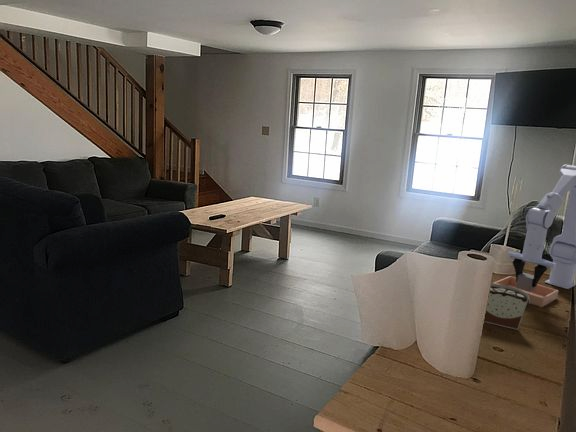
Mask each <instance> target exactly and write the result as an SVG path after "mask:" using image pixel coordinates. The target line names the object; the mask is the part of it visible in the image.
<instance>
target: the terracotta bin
mask: <svg viewBox="0 0 576 432" xmlns="http://www.w3.org/2000/svg"><path fill="white" fill-rule="evenodd" d="M492 284H499V285H505V286H510V287H513V288H516V284H517V282H516V276H511V275H509V276H507V277H504V278H502V279H499V280H496V281H494V282H492ZM517 289H519V288H517ZM519 290H522V289H519ZM522 291H524V292H525V293H527V294H528V295H529V298H530V304H529V303H528V302H527V304H529V305H533V306H535V307H539V308H543V307H545V306H547V305H549V304H551V303H552V302H554V301H555V300H557V299H558V296H559V289H555V288H552V287H548V286H545V285H542V284H538V283H537V286H536V287H535V290H533V291H531V292H529V291H525V290H522Z"/></svg>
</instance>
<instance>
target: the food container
mask: <svg viewBox="0 0 576 432" xmlns="http://www.w3.org/2000/svg"><path fill="white" fill-rule="evenodd" d="M490 284H491V287H490V292H489V298H488V303H487V308H486V314H485V320H484V322H483V323H488V324H492V325H497V326H500V327H504V328H509V329H513V330H517V331H518V330H519V328H520V325H521V324H522V323H521V321H522V319H523V317H524V313H525V311H526V307H527V305H528V304H529V305H531V304H530V298H529V295H528V294H527V293H525V292H524V291H522V290H519V289H517V288H513V287H510V286H505V285H499V284H493V283H490ZM527 302H528V303H527Z"/></svg>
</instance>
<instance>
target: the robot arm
mask: <svg viewBox="0 0 576 432" xmlns="http://www.w3.org/2000/svg"><path fill="white" fill-rule="evenodd" d="M568 192H570V195H569V200H568V204H567V209H566V214H565V219H564V223H563V227H562V232H561V234H559V235H556V236H554V237H553V239H552V243H551V244H550V247H549V252H548V253H549V255H550V257H551V259H552V261H550V260H547V259H544V258H542V257H543V253H544V248H545V244H546V240H547V239H546V238H547V233H548V229H549V228H550V227H551V226H552V224H553V222H554V219H555V217H556V212H557V211H558V210H559V209H560V208H561V206H562V205H563V203H564V202H563V201H564V200H563V198H564V197H565V195H567V194H568ZM525 223H526V225H525V229H526V235H525V240H524V244H523V248H522V249H523V250H522V253H521V252H519V253H518V252H514V251H508V252H507V256H506V258H507V259H513V261H512V265H513V268H514V271H515V278H516V282H517V279H518V275H519V274H521V273H524V267H525V265H526V263H527V264H532V265H535V266H534V273H533V275H534V279H533V283H532V287H536V286H537V284H538V283H539V281H540V279H541V278H542V276H543V275H544V274H545V272H546V271H548V269H549V270H550V273H549V277H548V279H547V280H545V281H544V283H546V284H548V285H553V286H555V287H559V288H562V289H567V290H569V289H571V288H573V287H575V286H576V285H575V282H574V281H575V277H576V165H571V164H569V163H566V164H563V165H562V166H561V167H560V169H559V172H558V181H557V183H556V184H555V186H554V188H553V190H552V191H551V192H547V193H546V194H545V195H543V197H542V198H541V199H540V201H539V203H537V205H536V206H535V207H531V208H530V209H529V210H528V211H527V213H526V215H525Z"/></svg>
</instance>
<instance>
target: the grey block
mask: <svg viewBox="0 0 576 432" xmlns="http://www.w3.org/2000/svg"><path fill="white" fill-rule="evenodd" d="M533 279H534V274H530V273H527V272H526V273H525V272H522V273H521V274H519V275H518V279H517V284H516V288H519V289H522V290H525V291H529V292H531V291H533V290H535V287H532V283H533Z"/></svg>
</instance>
